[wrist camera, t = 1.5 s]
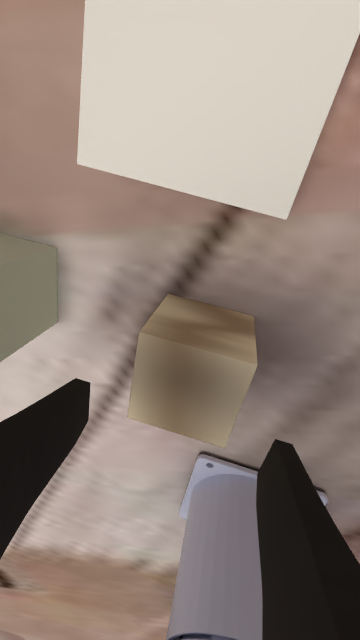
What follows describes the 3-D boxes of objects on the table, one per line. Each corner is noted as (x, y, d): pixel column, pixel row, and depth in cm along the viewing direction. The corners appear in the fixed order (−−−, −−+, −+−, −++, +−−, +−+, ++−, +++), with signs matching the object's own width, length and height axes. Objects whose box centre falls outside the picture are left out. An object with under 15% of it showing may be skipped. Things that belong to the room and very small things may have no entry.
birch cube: (253, 315, 15) (257, 365, 11) (229, 383, 18) (224, 448, 13) (168, 293, 16) (139, 331, 11) (155, 362, 18) (126, 417, 14)
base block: (362, -26, 10) (433, -155, 6) (274, 212, 13) (286, 219, 10) (146, -67, 10) (95, -206, 7) (119, 171, 14) (77, 164, 10)
